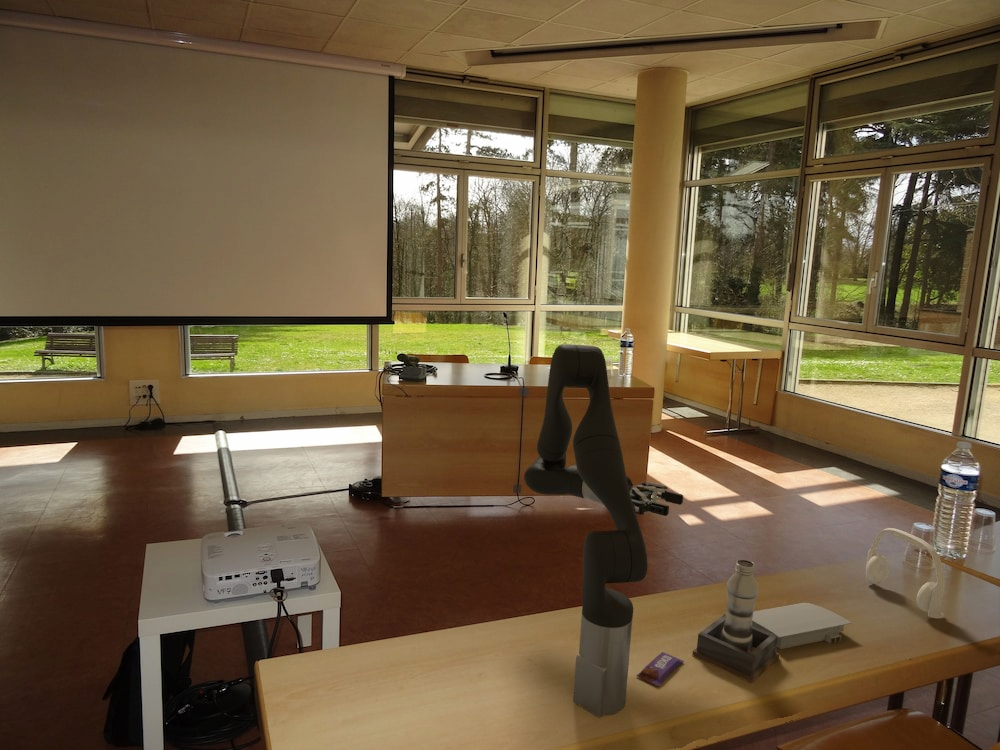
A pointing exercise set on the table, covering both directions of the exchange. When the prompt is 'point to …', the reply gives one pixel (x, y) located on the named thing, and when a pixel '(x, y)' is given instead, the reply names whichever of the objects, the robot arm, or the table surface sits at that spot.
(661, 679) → the snack package
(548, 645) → the table surface
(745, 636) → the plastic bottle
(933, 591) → the headset
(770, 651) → the open square tray
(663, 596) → the table surface
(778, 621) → the white router
